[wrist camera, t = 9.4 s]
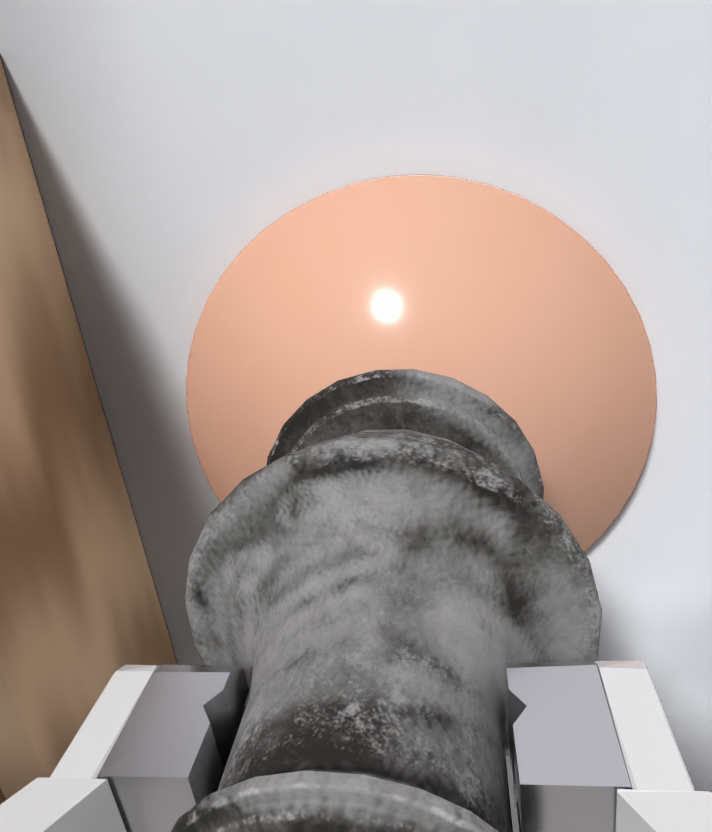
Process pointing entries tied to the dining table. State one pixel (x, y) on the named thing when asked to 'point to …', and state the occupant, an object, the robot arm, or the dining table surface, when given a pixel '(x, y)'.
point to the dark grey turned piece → (383, 611)
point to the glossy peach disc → (431, 331)
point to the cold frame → (56, 502)
